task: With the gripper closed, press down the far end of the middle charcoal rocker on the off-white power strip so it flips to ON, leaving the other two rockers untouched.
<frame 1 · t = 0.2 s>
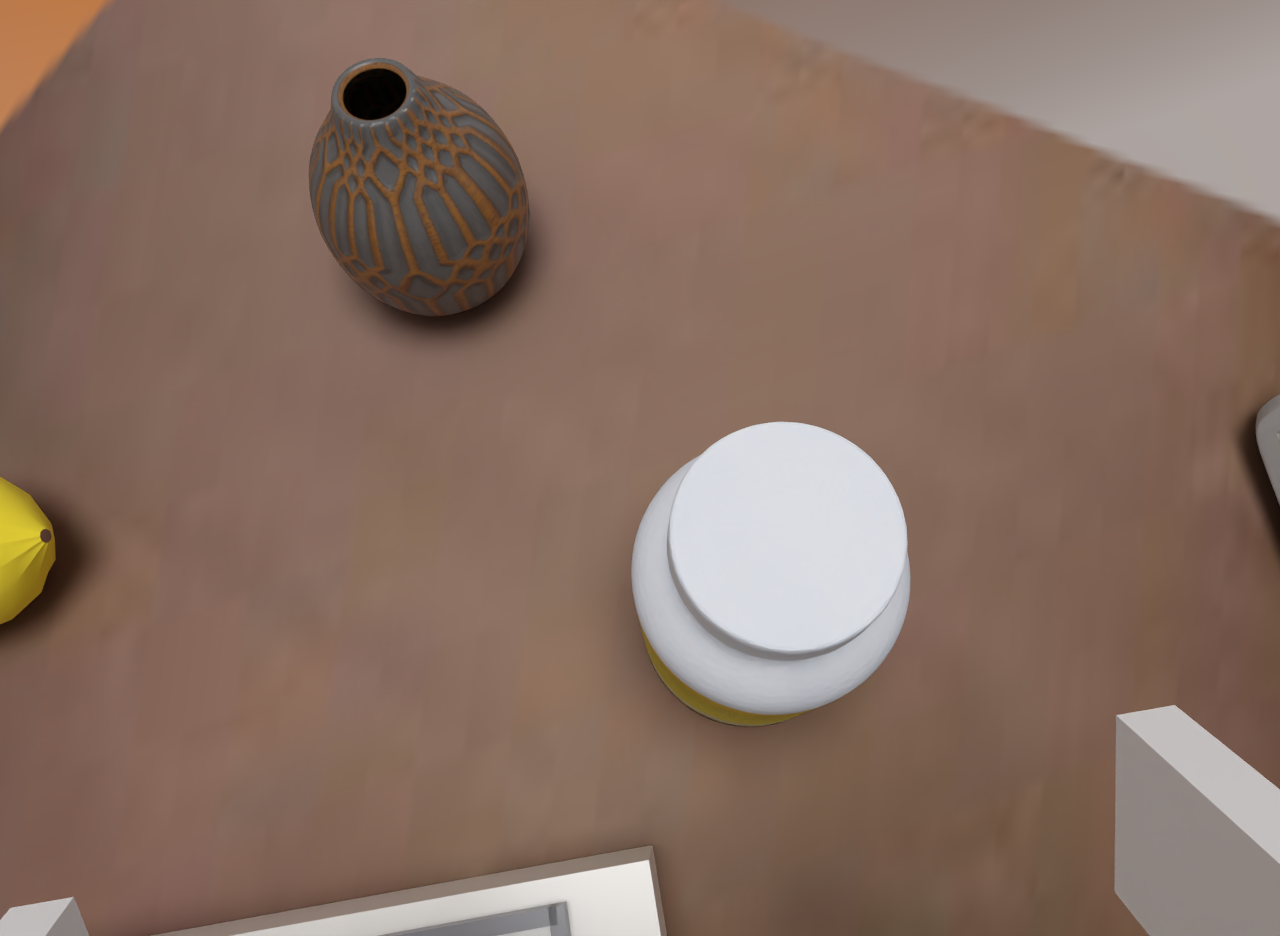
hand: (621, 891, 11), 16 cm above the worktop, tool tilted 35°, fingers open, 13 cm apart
lemon: (11, 570, 30), on the worktop
pill bottle: (743, 622, 28), on the worktop
vase: (451, 263, 33), on the worktop
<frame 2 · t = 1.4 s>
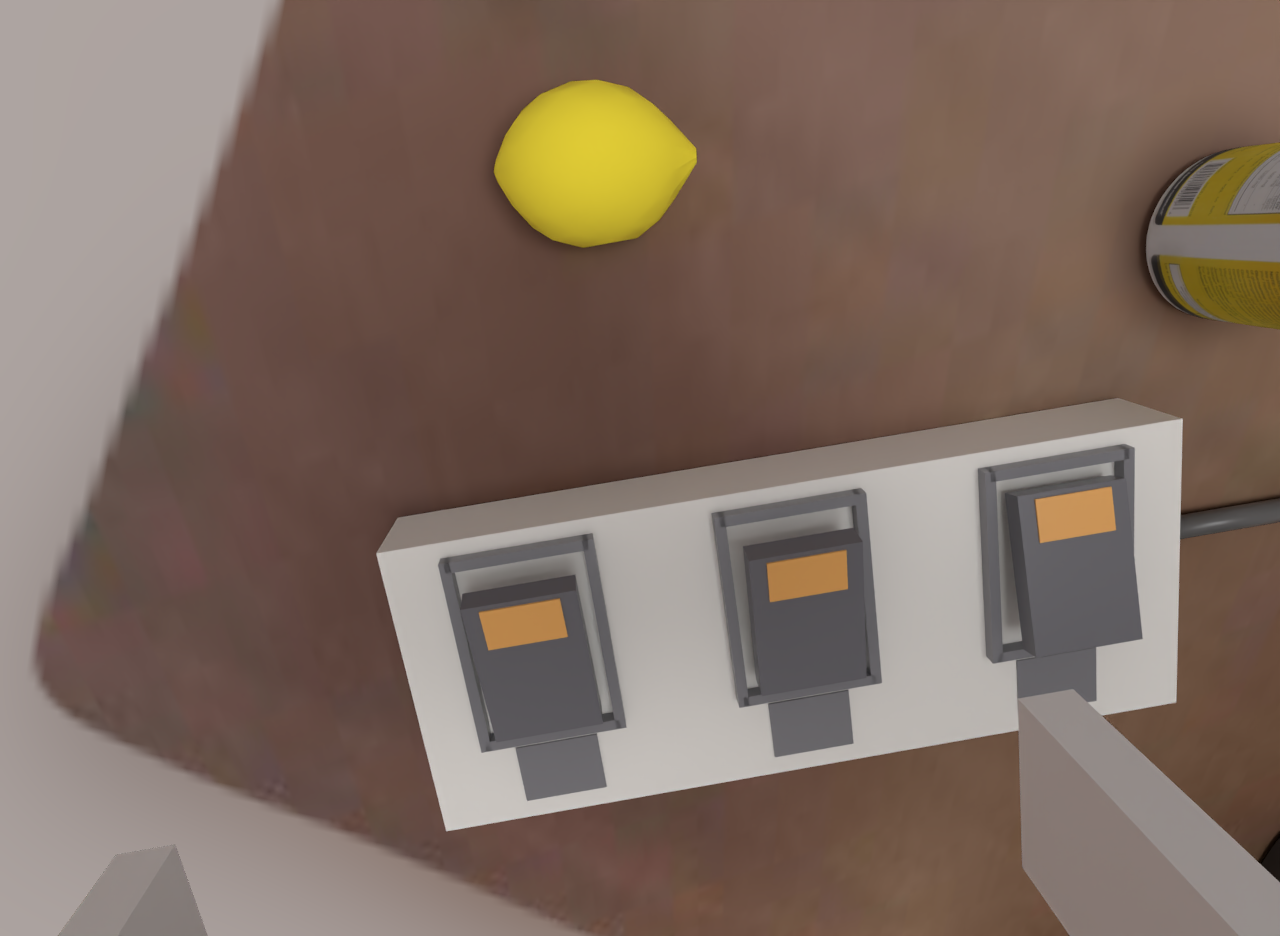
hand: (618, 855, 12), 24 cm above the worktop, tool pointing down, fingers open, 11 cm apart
power strip: (777, 590, 37), on the worktop
lemon: (593, 170, 33), on the worktop
rocker 1: (1073, 565, 32), point 5 cm above the worktop, hinge at 10.0°
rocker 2: (806, 614, 32), point 5 cm above the worktop, hinge at -10.0°
rocker 3: (534, 661, 32), point 5 cm above the worktop, hinge at -10.0°
pill bottle: (1212, 234, 35), on the worktop
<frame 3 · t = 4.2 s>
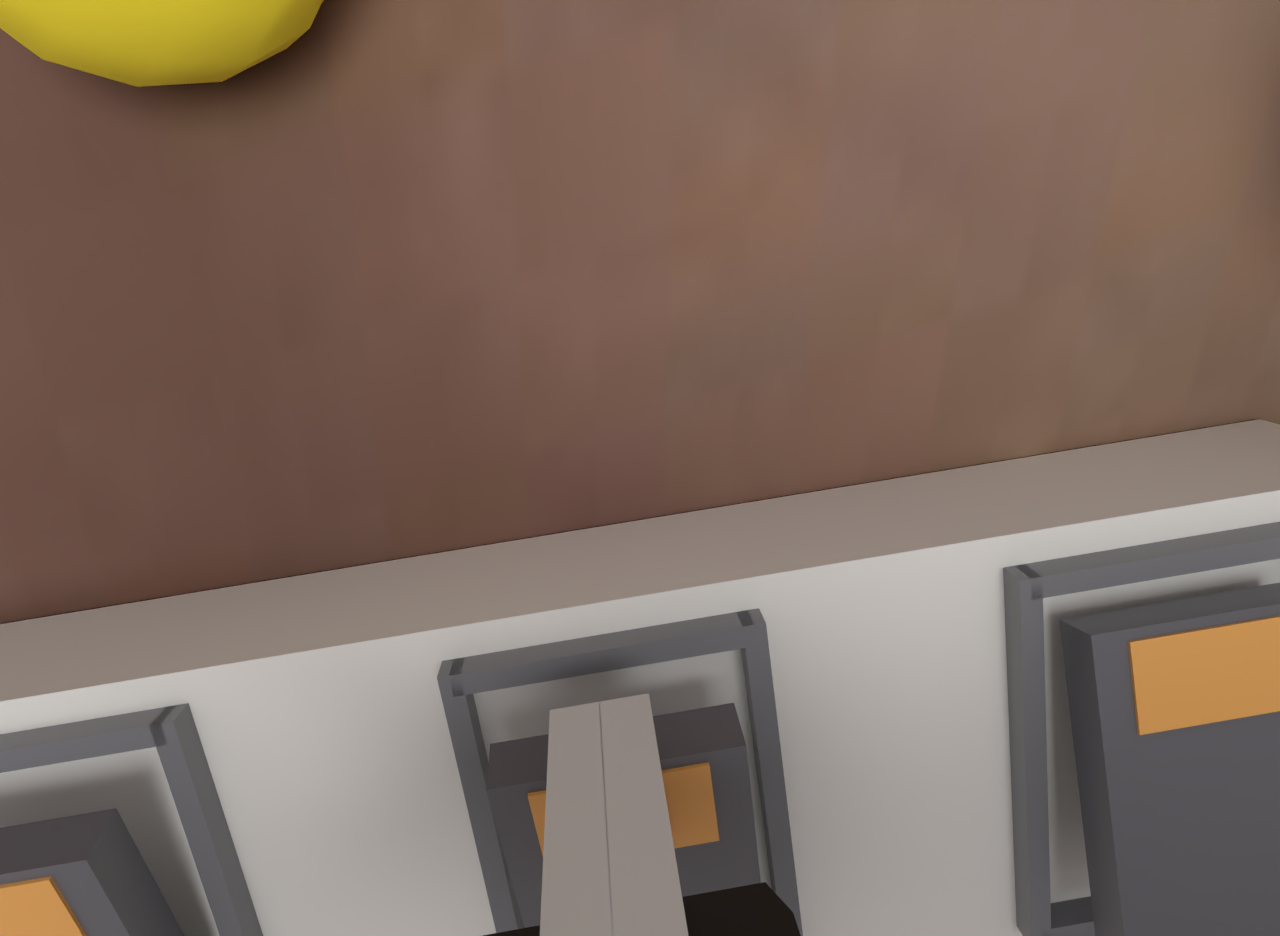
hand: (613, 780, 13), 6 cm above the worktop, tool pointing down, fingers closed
power strip: (632, 766, 21), on the worktop
rocker 1: (1206, 775, 15), point 5 cm above the worktop, hinge at 10.0°
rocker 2: (639, 879, 15), point 5 cm above the worktop, hinge at -9.5°, touching gripper
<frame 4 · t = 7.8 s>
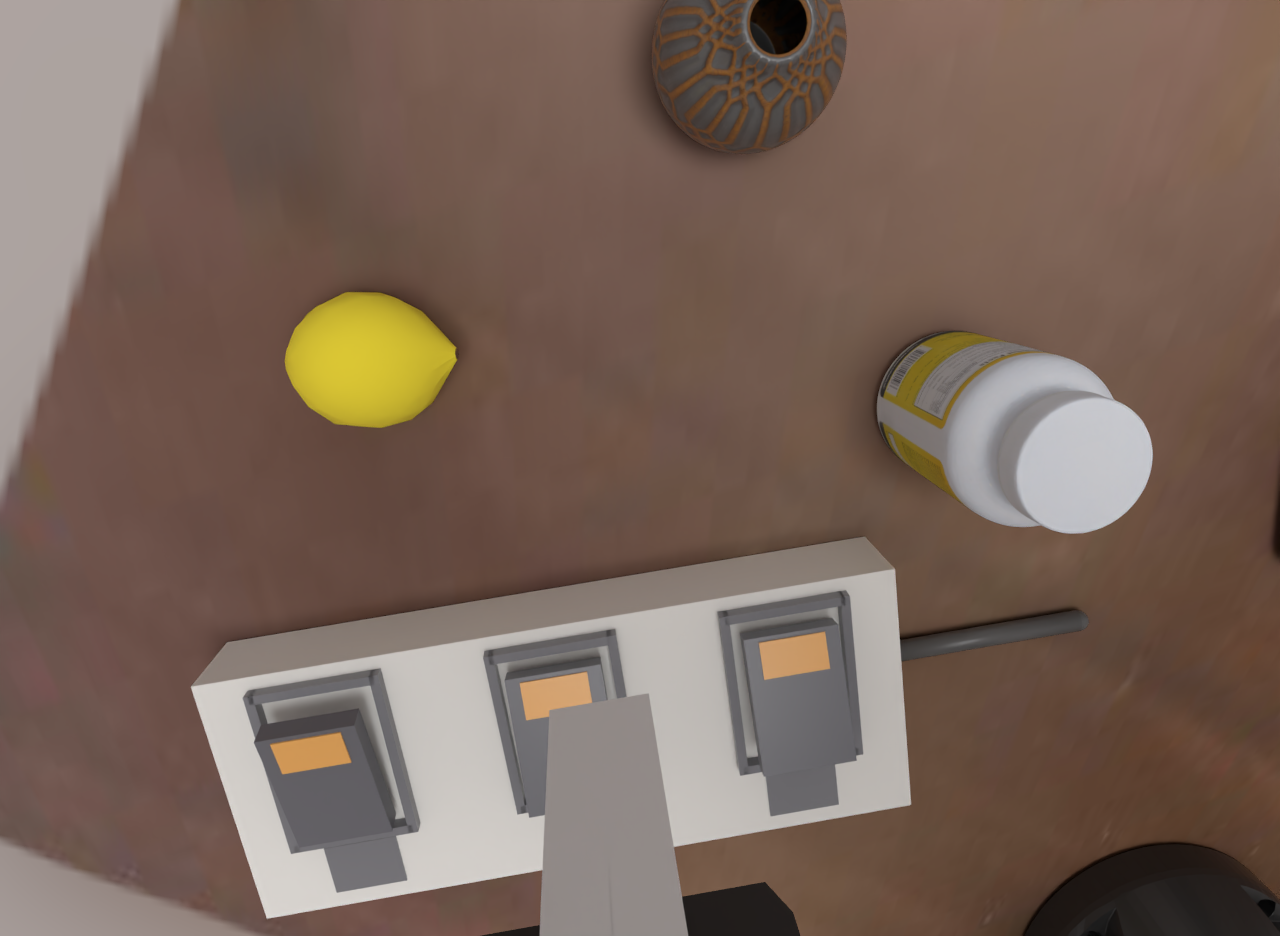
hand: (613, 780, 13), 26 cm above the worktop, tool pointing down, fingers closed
power strip: (571, 701, 42), on the worktop
lemon: (385, 350, 37), on the worktop
rocker 1: (798, 697, 37), point 5 cm above the worktop, hinge at 10.0°
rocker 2: (565, 737, 37), point 5 cm above the worktop, hinge at 10.3°
rocker 3: (328, 780, 37), point 5 cm above the worktop, hinge at -10.0°
pill bottle: (939, 398, 40), on the worktop
vase: (728, 69, 35), on the worktop
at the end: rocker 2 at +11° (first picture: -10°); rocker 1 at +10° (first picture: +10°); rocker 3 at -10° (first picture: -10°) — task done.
